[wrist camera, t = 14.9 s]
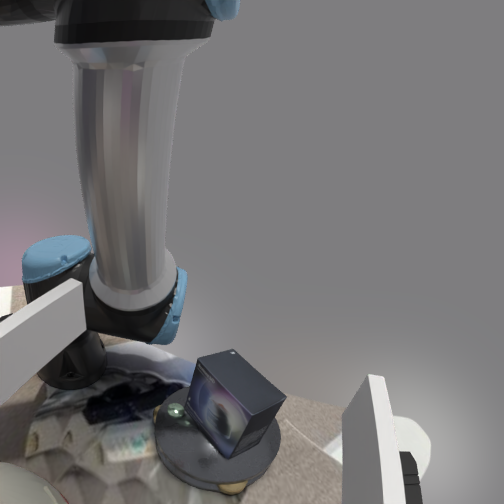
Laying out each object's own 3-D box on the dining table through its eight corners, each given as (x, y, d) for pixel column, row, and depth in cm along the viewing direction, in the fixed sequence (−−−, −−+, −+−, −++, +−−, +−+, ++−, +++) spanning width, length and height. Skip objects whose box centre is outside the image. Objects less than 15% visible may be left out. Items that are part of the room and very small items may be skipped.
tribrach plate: (130, 460, 30) (126, 443, 28) (175, 385, 46) (177, 364, 45) (261, 505, 27) (271, 493, 26) (279, 417, 44) (288, 398, 42)
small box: (180, 408, 36) (194, 355, 33) (215, 397, 41) (233, 346, 38) (226, 462, 29) (252, 414, 27) (260, 443, 34) (289, 395, 31)
